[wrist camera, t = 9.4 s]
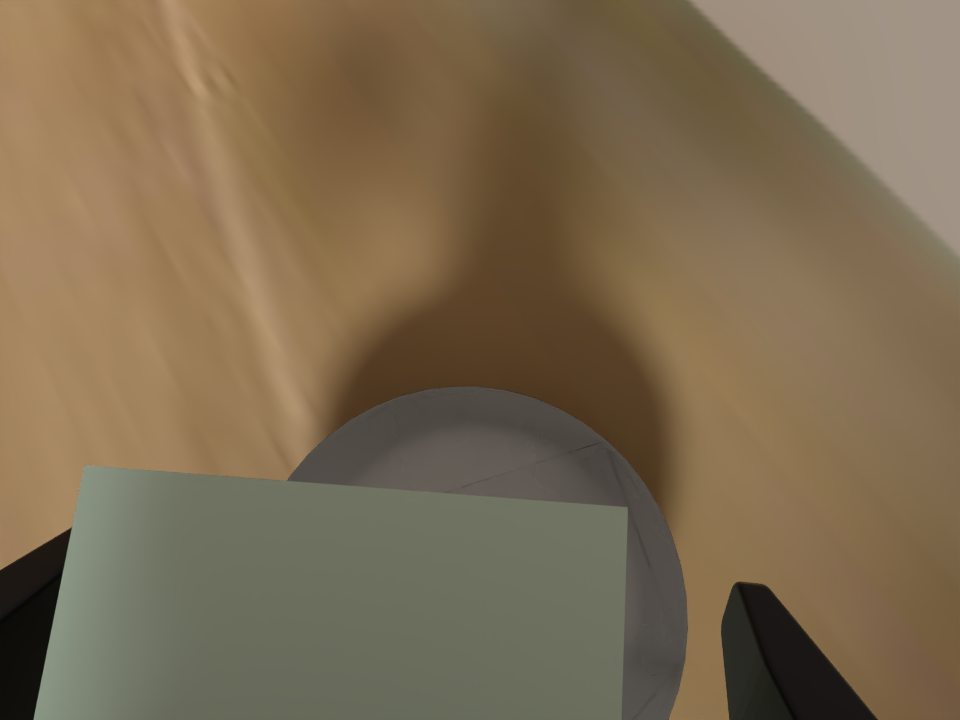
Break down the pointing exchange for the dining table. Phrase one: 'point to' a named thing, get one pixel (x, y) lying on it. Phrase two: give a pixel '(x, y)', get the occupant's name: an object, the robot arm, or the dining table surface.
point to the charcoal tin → (527, 475)
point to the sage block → (332, 604)
